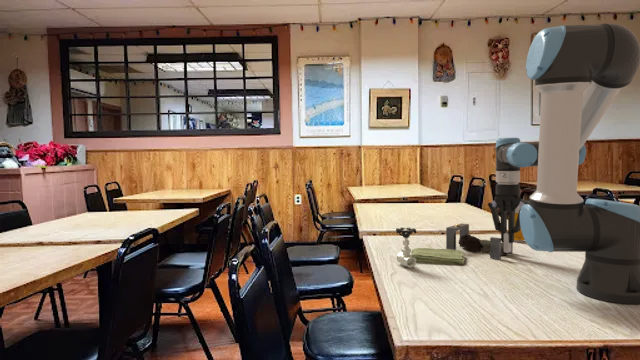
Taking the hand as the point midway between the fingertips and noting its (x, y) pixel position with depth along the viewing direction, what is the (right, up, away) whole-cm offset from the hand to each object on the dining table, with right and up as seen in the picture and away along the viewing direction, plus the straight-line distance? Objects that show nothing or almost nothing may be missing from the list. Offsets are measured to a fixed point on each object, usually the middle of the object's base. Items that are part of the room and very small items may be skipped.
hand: (507, 251), depth 139 cm
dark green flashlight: (-6, -2, +8) cm, 10 cm away
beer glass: (+15, 0, +24) cm, 29 cm away
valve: (-37, -3, -10) cm, 38 cm away
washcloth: (-25, -3, -2) cm, 25 cm away
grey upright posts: (-7, -1, +7) cm, 10 cm away
